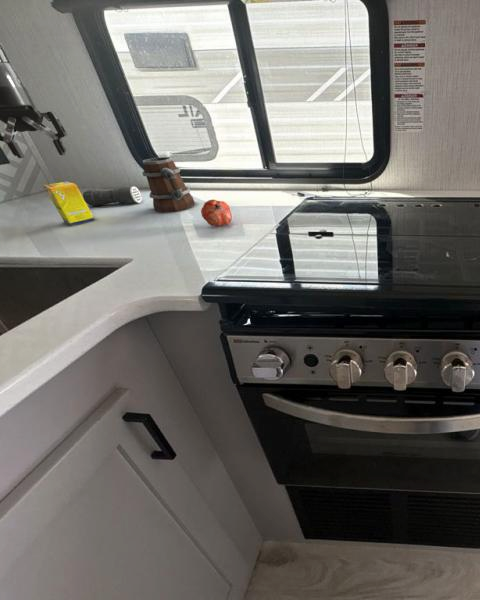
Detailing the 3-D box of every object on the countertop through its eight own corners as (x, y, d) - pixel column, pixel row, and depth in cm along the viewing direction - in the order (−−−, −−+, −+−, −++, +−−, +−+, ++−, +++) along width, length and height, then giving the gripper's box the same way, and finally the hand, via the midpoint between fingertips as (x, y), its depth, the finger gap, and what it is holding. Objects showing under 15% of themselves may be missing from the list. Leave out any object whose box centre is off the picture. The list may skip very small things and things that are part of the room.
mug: (150, 208, 110) (129, 160, 102) (188, 200, 117) (172, 154, 109) (166, 217, 101) (144, 165, 93) (206, 208, 108) (190, 159, 100)
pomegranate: (205, 233, 95) (202, 220, 86) (200, 209, 95) (196, 193, 86) (234, 231, 98) (233, 218, 89) (228, 207, 99) (228, 192, 90)
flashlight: (86, 208, 111) (77, 192, 108) (95, 204, 116) (87, 188, 113) (136, 204, 114) (129, 188, 111) (143, 200, 118) (136, 184, 115)
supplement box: (64, 222, 99) (42, 185, 93) (88, 217, 103) (68, 180, 97) (70, 226, 96) (48, 187, 90) (95, 220, 100) (75, 183, 94)
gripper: (46, 85, 87) (79, 152, 95) (-30, 85, 81) (12, 157, 89) (36, 84, 81) (72, 155, 90) (-46, 85, 75) (1, 160, 84)
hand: (42, 156), depth 90 cm, fingers open, 8 cm apart
